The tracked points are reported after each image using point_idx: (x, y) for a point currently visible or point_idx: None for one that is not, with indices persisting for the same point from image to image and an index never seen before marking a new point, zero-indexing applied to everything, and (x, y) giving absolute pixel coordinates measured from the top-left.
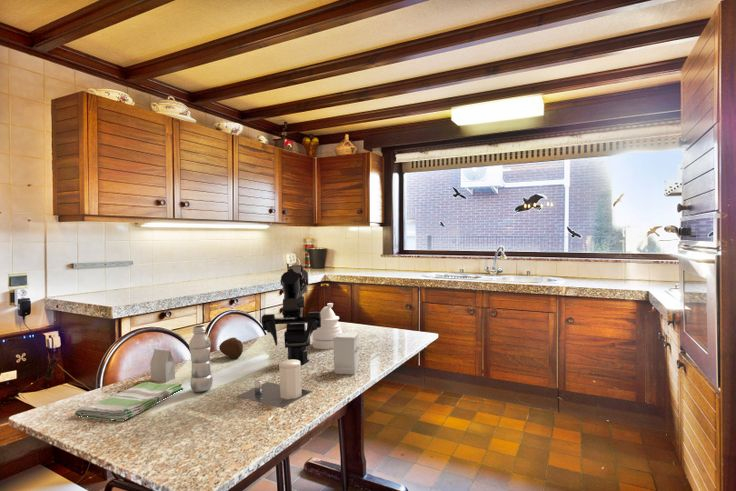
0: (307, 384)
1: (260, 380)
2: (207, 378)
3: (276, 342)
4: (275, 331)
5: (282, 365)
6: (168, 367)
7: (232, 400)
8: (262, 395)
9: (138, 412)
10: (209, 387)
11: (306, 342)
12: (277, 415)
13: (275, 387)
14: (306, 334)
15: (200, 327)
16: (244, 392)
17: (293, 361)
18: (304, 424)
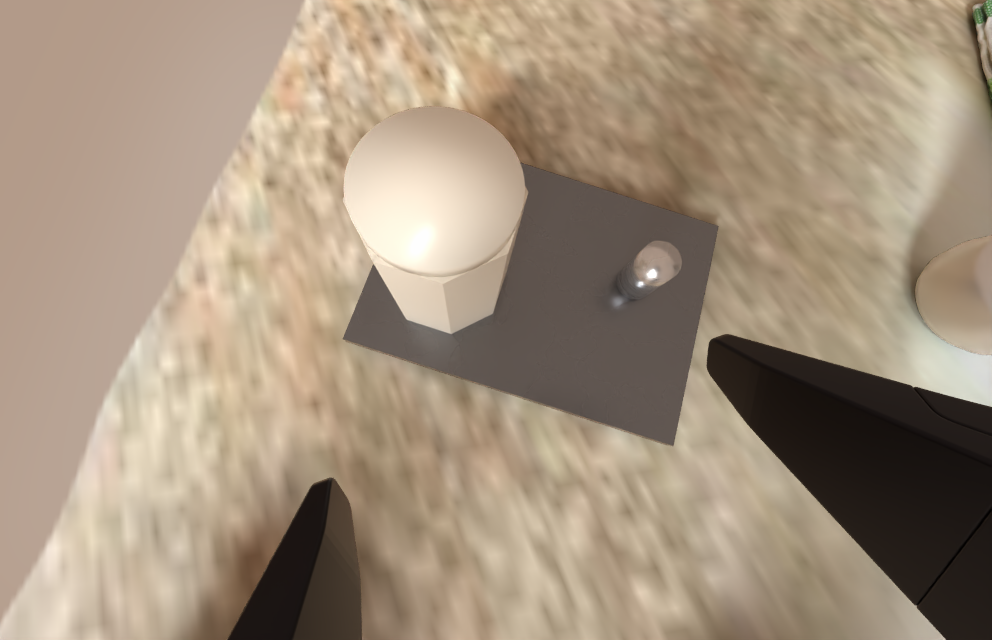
0: (423, 484)
1: (651, 269)
2: (981, 264)
3: (728, 344)
4: (929, 431)
5: (468, 113)
6: None
7: (716, 216)
8: (593, 251)
9: (985, 54)
10: (921, 292)
11: (320, 481)
12: (433, 101)
13: (580, 365)
14: (294, 591)
15: None
16: (707, 276)
17: (415, 215)
18: (291, 43)
